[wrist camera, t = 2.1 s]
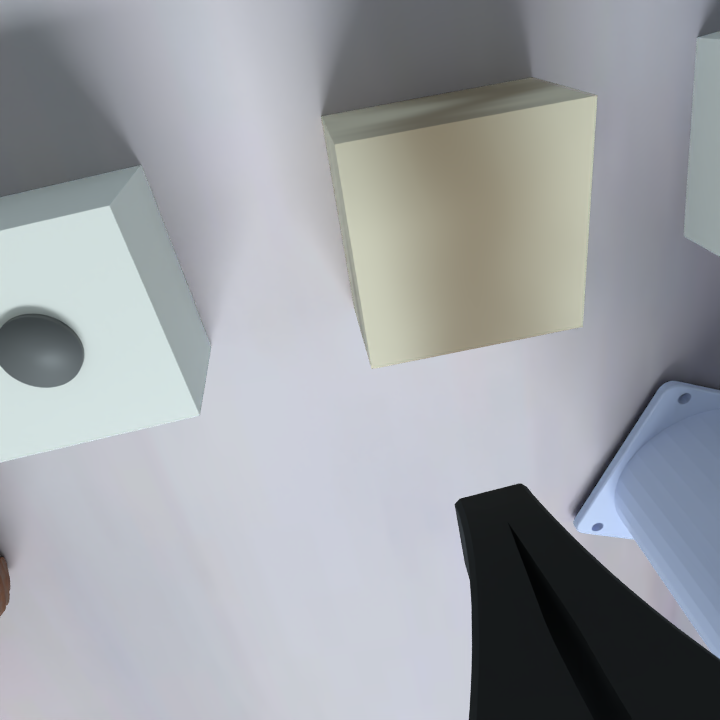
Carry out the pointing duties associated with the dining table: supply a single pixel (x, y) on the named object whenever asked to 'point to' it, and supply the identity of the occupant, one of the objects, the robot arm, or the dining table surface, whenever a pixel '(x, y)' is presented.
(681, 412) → the robot arm
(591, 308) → the dining table surface
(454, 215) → the maple block
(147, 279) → the one-dot block
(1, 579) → the rusty brown arched frame
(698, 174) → the two-dot block
